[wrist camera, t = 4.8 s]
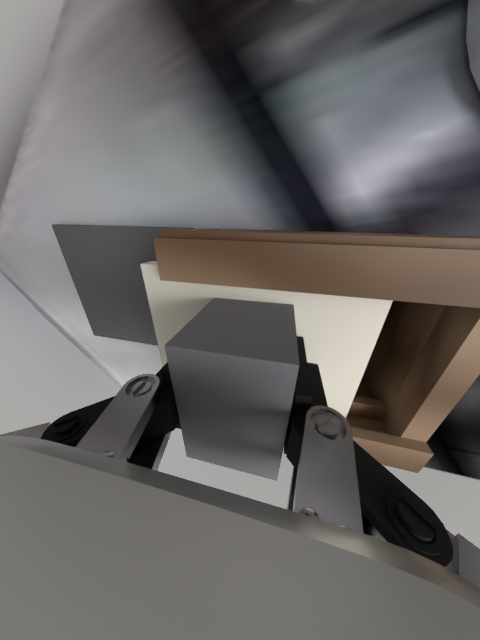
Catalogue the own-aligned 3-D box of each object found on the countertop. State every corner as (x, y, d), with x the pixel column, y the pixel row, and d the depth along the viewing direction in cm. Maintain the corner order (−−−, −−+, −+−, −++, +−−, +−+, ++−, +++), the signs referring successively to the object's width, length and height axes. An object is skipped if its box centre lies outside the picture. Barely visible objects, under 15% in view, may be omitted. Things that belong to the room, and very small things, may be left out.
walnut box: (217, 228, 15) (151, 229, 8) (421, 234, 12) (614, 243, 5) (221, 351, 20) (184, 420, 13) (363, 374, 18) (415, 475, 10)
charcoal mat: (58, 224, 18) (51, 224, 17) (194, 228, 15) (190, 228, 15) (98, 332, 23) (94, 335, 23) (203, 349, 21) (201, 352, 20)
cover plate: (152, 260, 11) (41, 288, 6) (389, 273, 8) (530, 335, 4) (175, 379, 15) (120, 454, 10) (339, 410, 12) (373, 526, 8)
